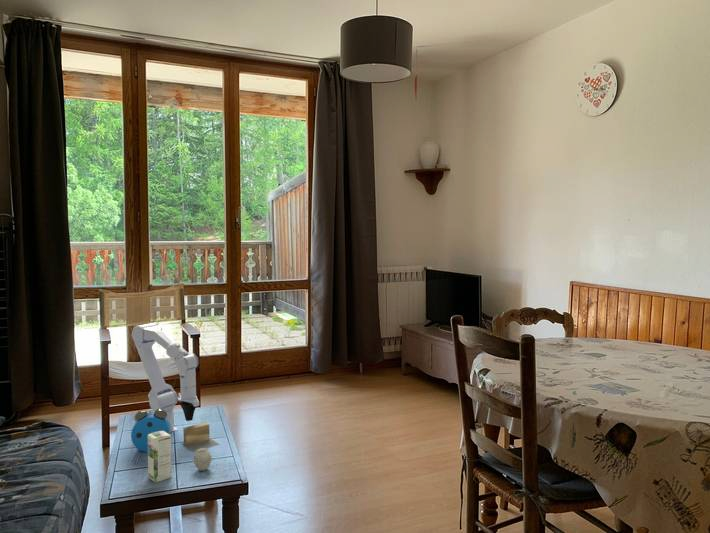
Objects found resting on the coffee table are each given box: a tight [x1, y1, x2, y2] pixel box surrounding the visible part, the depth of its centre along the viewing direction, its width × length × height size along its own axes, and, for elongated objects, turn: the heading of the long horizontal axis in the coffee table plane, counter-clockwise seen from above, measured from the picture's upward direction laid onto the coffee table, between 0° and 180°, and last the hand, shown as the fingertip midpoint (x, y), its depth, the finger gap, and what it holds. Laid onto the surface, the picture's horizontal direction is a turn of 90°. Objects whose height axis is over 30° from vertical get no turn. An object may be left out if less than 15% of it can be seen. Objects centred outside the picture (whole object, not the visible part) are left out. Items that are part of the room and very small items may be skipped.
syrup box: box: [147, 431, 173, 483], centre depth 175 cm, size 6×6×14 cm
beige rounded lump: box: [192, 448, 213, 472], centre depth 181 cm, size 6×7×7 cm
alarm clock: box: [130, 409, 172, 453], centre depth 197 cm, size 13×6×15 cm, turn 102°
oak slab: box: [183, 421, 211, 446], centre depth 203 cm, size 3×9×6 cm, turn 131°
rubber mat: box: [180, 438, 220, 453], centre depth 202 cm, size 12×10×1 cm
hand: (189, 420), depth 208 cm, fingers closed
